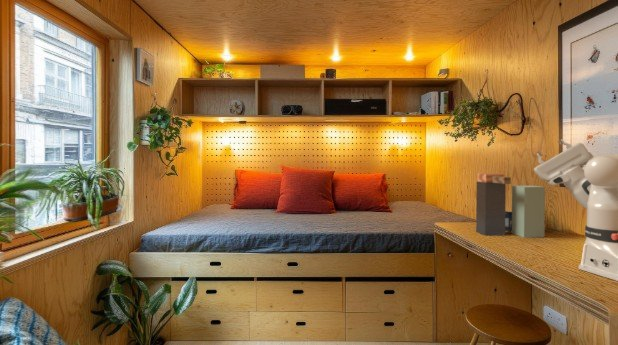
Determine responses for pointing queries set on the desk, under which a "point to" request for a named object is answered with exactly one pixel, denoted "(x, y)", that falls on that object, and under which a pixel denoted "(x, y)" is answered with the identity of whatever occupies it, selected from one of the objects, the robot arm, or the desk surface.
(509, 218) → the vhs cassette tape
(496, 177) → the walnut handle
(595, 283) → the desk surface
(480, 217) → the tower
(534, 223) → the sage tower
